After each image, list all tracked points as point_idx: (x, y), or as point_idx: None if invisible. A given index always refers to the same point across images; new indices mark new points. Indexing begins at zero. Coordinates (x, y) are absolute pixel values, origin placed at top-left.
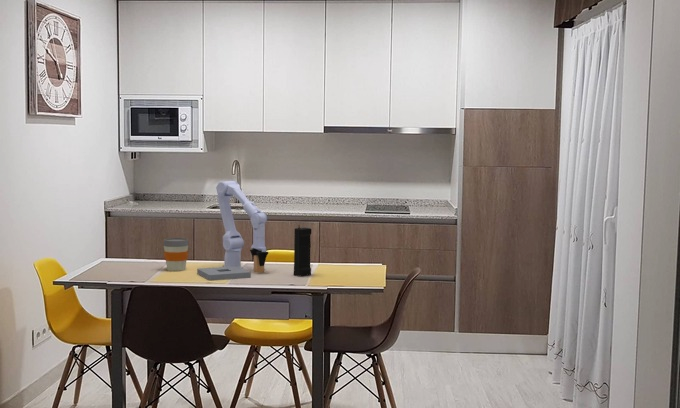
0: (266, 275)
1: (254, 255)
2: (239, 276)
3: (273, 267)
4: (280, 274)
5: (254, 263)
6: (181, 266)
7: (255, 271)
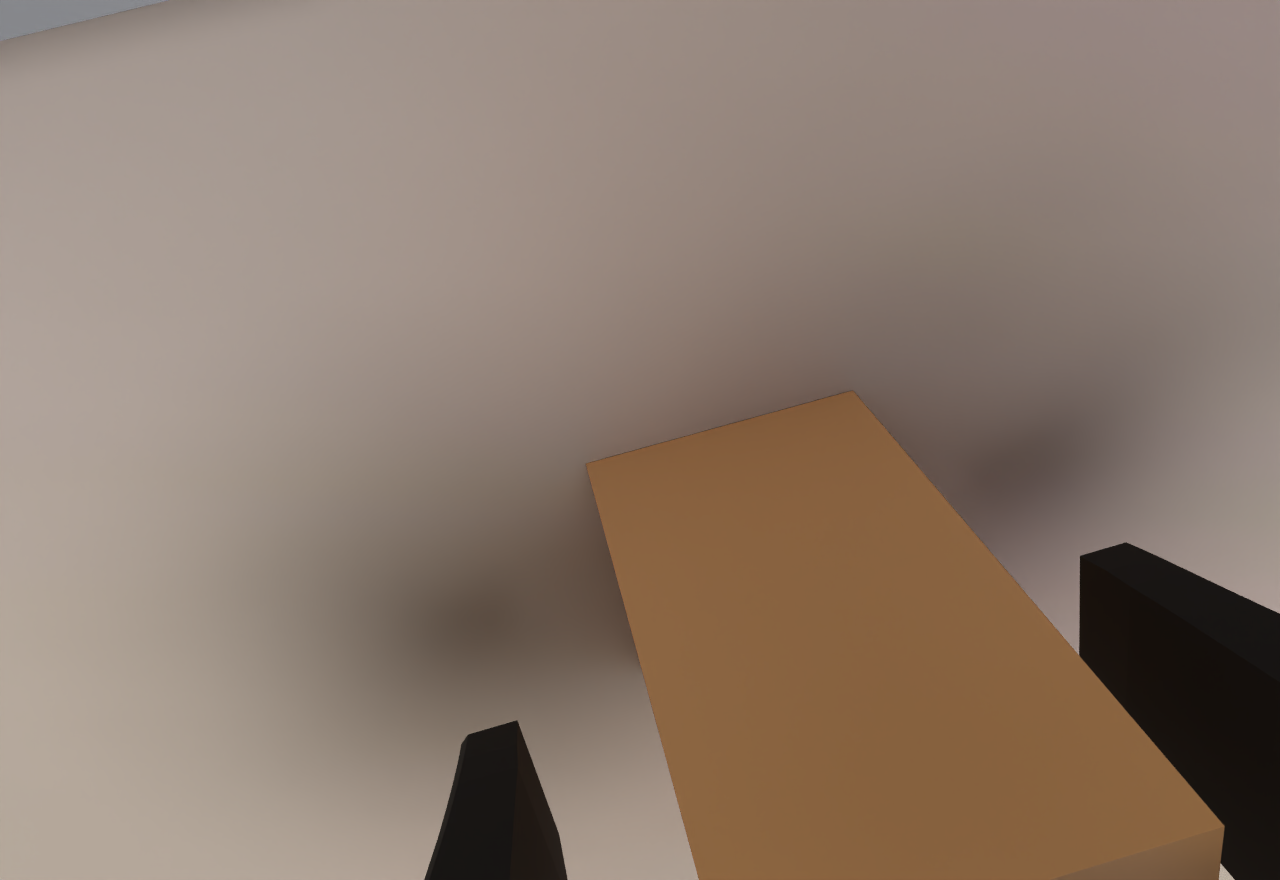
0: (24, 723)
1: (1178, 861)
2: None
3: None
4: None
5: (896, 575)
6: None
7: (698, 448)
